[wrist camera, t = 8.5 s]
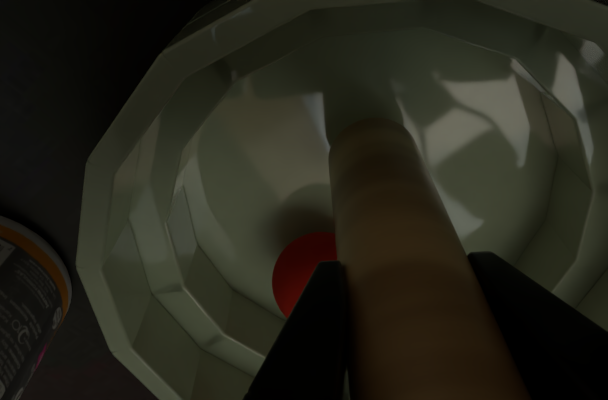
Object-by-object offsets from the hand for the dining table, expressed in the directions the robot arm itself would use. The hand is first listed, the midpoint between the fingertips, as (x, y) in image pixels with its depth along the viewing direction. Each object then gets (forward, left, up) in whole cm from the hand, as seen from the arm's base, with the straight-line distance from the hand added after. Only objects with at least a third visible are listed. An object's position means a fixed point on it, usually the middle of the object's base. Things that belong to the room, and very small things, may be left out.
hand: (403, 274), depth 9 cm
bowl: (-2, +1, -7) cm, 7 cm away
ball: (-3, +3, -4) cm, 6 cm away
